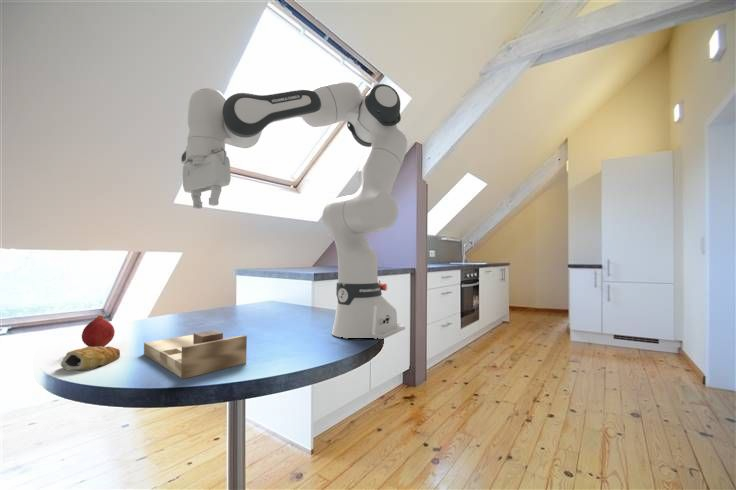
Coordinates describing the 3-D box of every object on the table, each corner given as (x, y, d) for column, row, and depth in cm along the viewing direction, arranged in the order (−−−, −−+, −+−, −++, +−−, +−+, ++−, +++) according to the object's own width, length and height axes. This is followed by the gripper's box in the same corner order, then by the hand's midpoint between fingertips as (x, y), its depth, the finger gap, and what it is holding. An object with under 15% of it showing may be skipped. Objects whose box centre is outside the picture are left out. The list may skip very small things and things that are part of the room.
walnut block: (213, 349, 70) (213, 330, 71) (222, 353, 68) (222, 333, 68) (193, 353, 68) (193, 333, 68) (201, 358, 65) (202, 336, 65)
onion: (85, 355, 74) (86, 318, 74) (78, 350, 78) (79, 315, 78) (117, 349, 79) (118, 314, 79) (109, 345, 82) (110, 312, 82)
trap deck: (200, 343, 84) (200, 321, 85) (246, 363, 70) (246, 335, 70) (143, 354, 75) (144, 329, 76) (183, 378, 61) (183, 347, 61)
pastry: (103, 356, 75) (104, 338, 75) (129, 358, 73) (130, 340, 73) (56, 370, 65) (57, 350, 66) (85, 373, 64) (86, 353, 64)
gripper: (237, 148, 85) (236, 204, 84) (202, 162, 98) (201, 211, 98) (212, 142, 80) (211, 201, 79) (178, 158, 93) (177, 208, 93)
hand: (205, 206), depth 89 cm, fingers open, 8 cm apart
